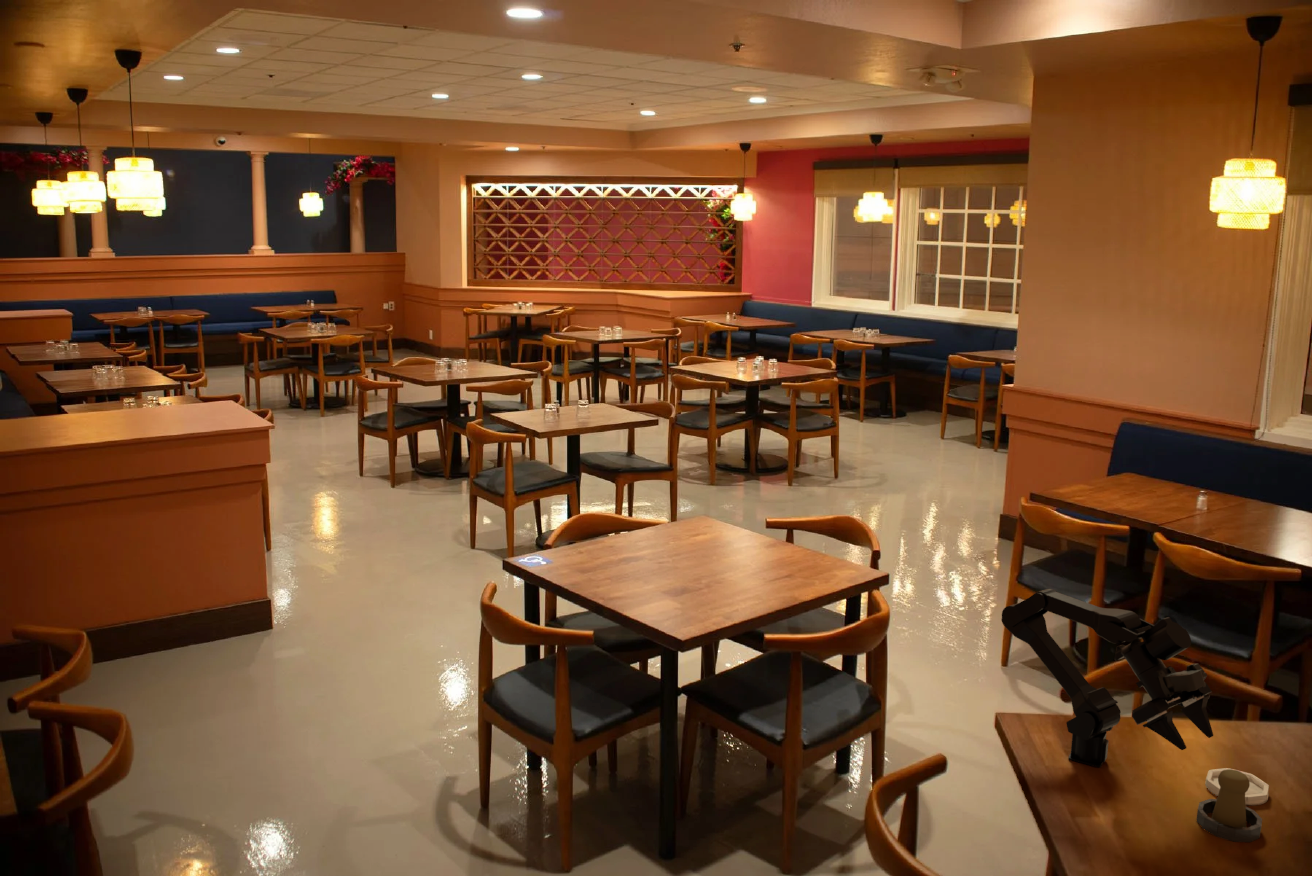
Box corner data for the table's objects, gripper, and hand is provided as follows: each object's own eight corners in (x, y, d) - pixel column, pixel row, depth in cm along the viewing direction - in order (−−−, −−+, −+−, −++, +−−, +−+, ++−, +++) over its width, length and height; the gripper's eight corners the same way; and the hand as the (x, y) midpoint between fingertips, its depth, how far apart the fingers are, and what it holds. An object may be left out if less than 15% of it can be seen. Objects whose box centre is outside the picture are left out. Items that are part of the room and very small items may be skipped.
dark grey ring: (1193, 830, 198) (1195, 818, 197) (1200, 804, 207) (1202, 793, 206) (1257, 848, 192) (1259, 836, 192) (1262, 821, 201) (1263, 809, 200)
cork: (1251, 836, 196) (1257, 782, 194) (1215, 832, 197) (1222, 779, 195) (1240, 819, 202) (1246, 766, 200) (1206, 815, 203) (1212, 763, 201)
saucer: (1202, 794, 210) (1202, 786, 210) (1208, 770, 220) (1209, 762, 219) (1266, 811, 204) (1267, 802, 204) (1270, 786, 214) (1271, 778, 213)
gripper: (1151, 663, 199) (1202, 739, 192) (1206, 642, 209) (1256, 715, 202) (1111, 686, 207) (1158, 761, 200) (1166, 666, 217) (1212, 736, 210)
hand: (1198, 742), depth 203 cm, fingers open, 9 cm apart
